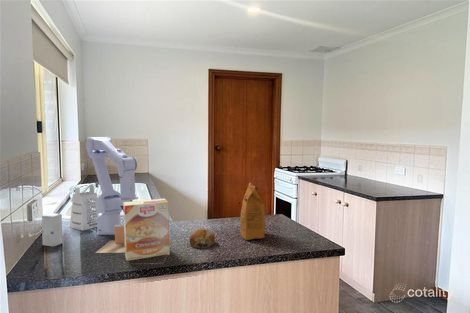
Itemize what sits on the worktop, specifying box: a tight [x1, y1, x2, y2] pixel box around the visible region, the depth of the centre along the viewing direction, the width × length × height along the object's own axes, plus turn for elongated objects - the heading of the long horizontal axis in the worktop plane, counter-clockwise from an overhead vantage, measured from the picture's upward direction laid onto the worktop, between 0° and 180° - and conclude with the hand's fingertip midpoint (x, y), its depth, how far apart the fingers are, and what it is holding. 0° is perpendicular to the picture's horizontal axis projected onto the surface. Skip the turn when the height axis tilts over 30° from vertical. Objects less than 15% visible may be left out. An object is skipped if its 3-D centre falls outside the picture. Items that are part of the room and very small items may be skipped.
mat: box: [94, 239, 125, 254], centre depth 125 cm, size 14×14×1 cm
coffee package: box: [239, 182, 266, 241], centre depth 135 cm, size 10×12×22 cm
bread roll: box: [189, 227, 216, 249], centre depth 128 cm, size 10×10×8 cm
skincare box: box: [41, 212, 63, 248], centre depth 130 cm, size 6×4×12 cm
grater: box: [69, 183, 101, 231], centre depth 155 cm, size 10×10×20 cm
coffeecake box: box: [122, 198, 171, 261], centre depth 116 cm, size 15×7×20 cm, turn 114°
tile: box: [114, 224, 125, 244], centre depth 129 cm, size 7×2×7 cm, turn 89°
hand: (128, 219), depth 134 cm, fingers closed
